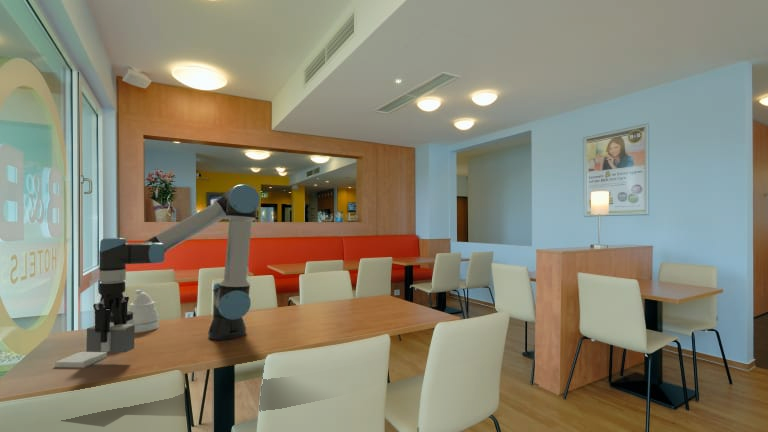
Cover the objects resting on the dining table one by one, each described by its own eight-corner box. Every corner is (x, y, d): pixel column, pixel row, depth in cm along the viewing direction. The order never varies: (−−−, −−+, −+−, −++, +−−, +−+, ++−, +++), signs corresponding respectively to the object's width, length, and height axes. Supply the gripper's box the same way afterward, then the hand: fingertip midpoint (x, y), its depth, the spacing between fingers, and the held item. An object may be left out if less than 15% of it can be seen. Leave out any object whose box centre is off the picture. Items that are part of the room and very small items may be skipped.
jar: (105, 348, 143) (106, 317, 143) (107, 342, 150) (108, 312, 150) (133, 344, 148) (134, 314, 148) (134, 338, 155) (134, 310, 155)
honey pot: (133, 334, 161) (134, 293, 162) (119, 329, 168) (120, 290, 169) (163, 327, 172) (164, 288, 173) (149, 323, 179) (150, 286, 179)
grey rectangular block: (134, 348, 130) (134, 324, 131) (125, 352, 126) (126, 327, 126) (96, 347, 131) (96, 323, 131) (86, 351, 127) (86, 327, 127)
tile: (107, 352, 134) (80, 351, 134) (83, 362, 124) (55, 362, 124) (107, 358, 134) (80, 357, 134) (83, 368, 124) (54, 368, 124)
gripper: (120, 278, 138) (119, 341, 137) (81, 285, 121) (79, 357, 120) (139, 278, 138) (138, 341, 137) (103, 285, 120) (101, 357, 120)
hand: (111, 348), depth 129 cm, fingers closed on grey rectangular block, 4 cm apart
